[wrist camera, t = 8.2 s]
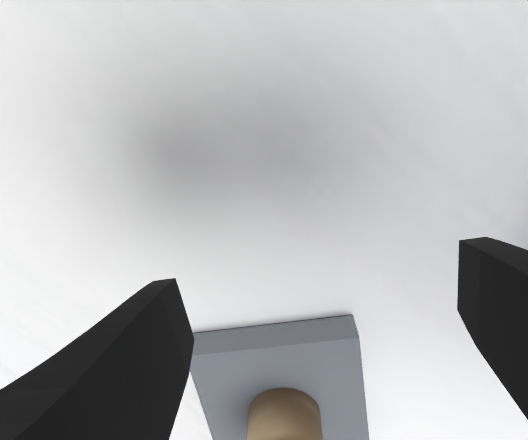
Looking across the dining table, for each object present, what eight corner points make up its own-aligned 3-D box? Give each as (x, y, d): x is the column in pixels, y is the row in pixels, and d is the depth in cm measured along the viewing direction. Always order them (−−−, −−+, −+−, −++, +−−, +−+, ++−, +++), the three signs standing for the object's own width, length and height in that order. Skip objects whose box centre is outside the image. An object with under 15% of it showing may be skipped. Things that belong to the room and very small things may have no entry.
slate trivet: (352, 314, 22) (359, 337, 20) (364, 430, 26) (371, 458, 24) (192, 333, 23) (185, 356, 21) (226, 441, 27) (222, 468, 25)
